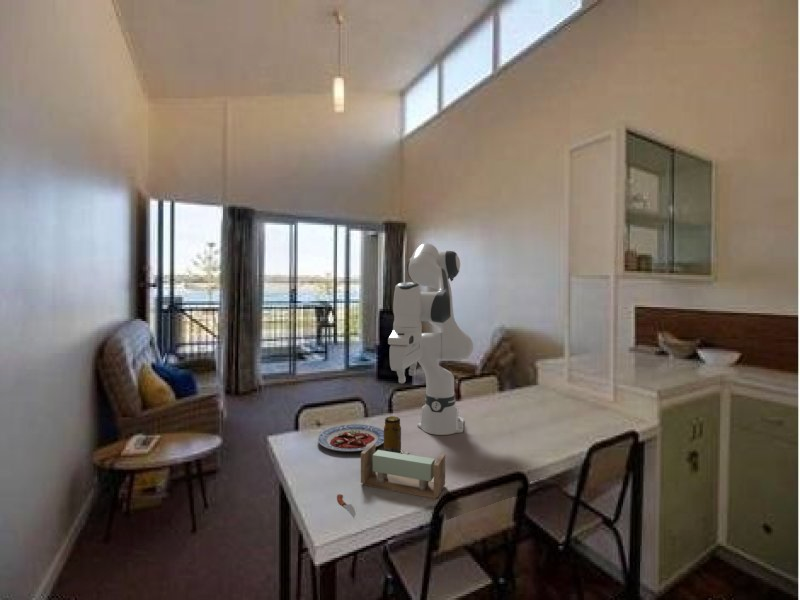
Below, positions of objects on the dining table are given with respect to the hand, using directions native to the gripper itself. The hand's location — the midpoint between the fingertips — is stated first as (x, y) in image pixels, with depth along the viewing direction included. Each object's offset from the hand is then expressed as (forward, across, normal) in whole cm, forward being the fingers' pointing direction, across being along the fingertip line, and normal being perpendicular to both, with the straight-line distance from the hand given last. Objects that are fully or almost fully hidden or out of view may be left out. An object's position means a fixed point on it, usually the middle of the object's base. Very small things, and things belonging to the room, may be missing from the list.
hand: (407, 378), depth 135 cm
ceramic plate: (+31, -16, -27) cm, 44 cm away
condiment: (+30, -12, -9) cm, 34 cm away
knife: (+30, +25, -8) cm, 40 cm away
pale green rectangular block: (+26, +9, +2) cm, 28 cm away
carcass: (+30, +10, +2) cm, 31 cm away
